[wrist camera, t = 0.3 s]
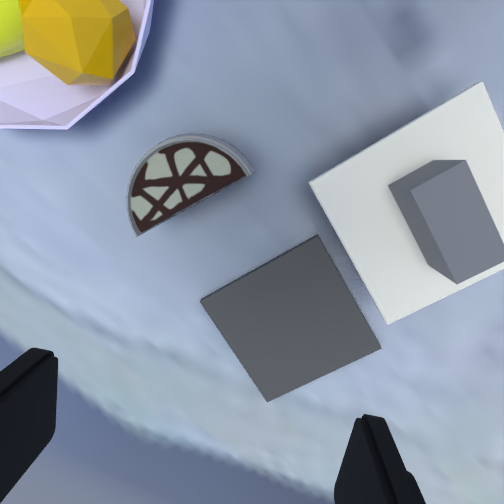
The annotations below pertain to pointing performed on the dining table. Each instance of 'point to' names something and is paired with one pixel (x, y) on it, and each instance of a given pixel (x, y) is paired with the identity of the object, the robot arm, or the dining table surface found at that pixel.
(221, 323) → the rubber mat
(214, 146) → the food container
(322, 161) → the dining table surface
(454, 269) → the lid
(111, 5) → the fruit bowl
